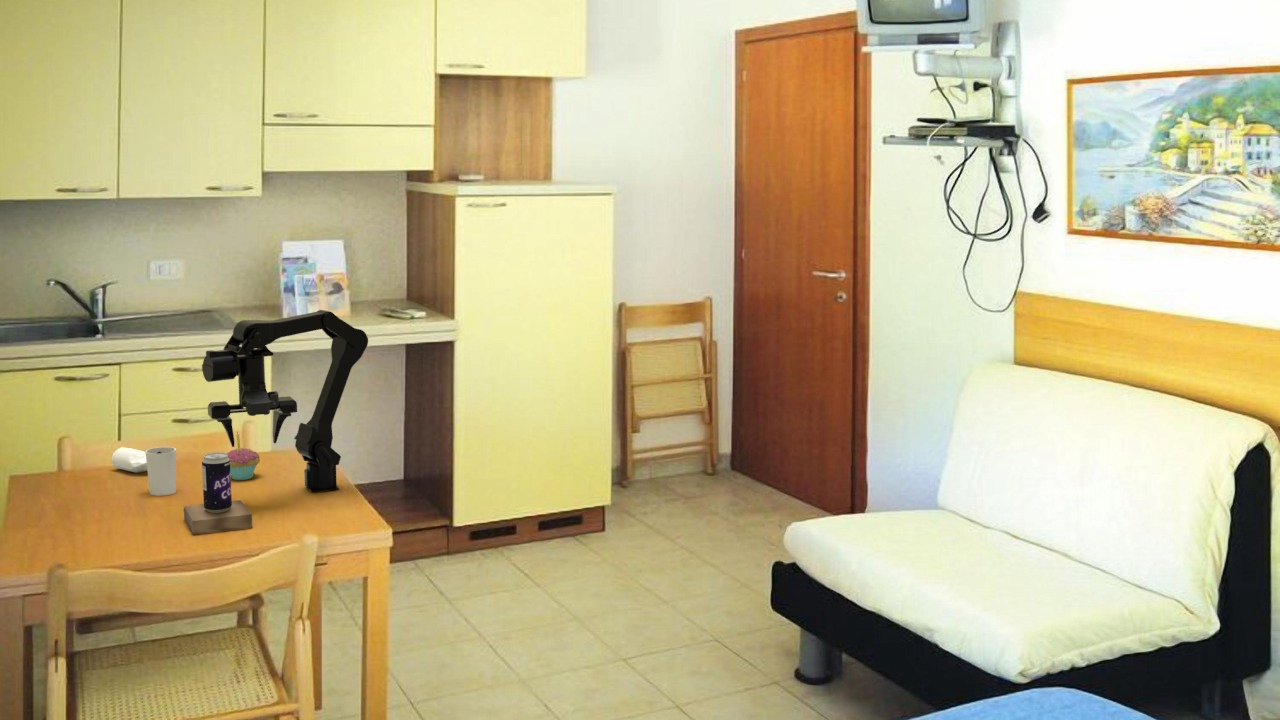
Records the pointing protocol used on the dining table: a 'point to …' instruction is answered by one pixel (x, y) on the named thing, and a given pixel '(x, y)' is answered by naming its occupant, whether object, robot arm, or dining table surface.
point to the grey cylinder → (161, 470)
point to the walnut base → (217, 518)
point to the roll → (130, 460)
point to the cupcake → (242, 462)
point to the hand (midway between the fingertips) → (254, 444)
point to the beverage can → (216, 482)
